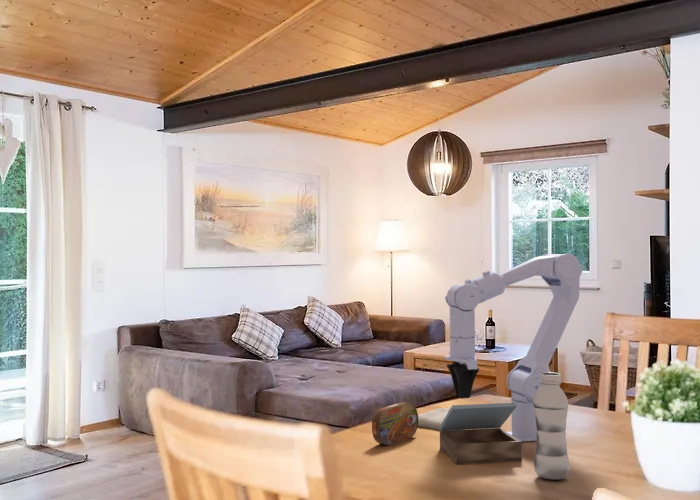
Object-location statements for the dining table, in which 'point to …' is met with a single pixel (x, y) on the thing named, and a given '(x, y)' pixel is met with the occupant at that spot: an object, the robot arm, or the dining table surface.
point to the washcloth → (433, 418)
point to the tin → (395, 423)
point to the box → (480, 446)
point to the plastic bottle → (551, 428)
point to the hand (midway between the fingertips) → (462, 396)
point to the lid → (477, 416)
